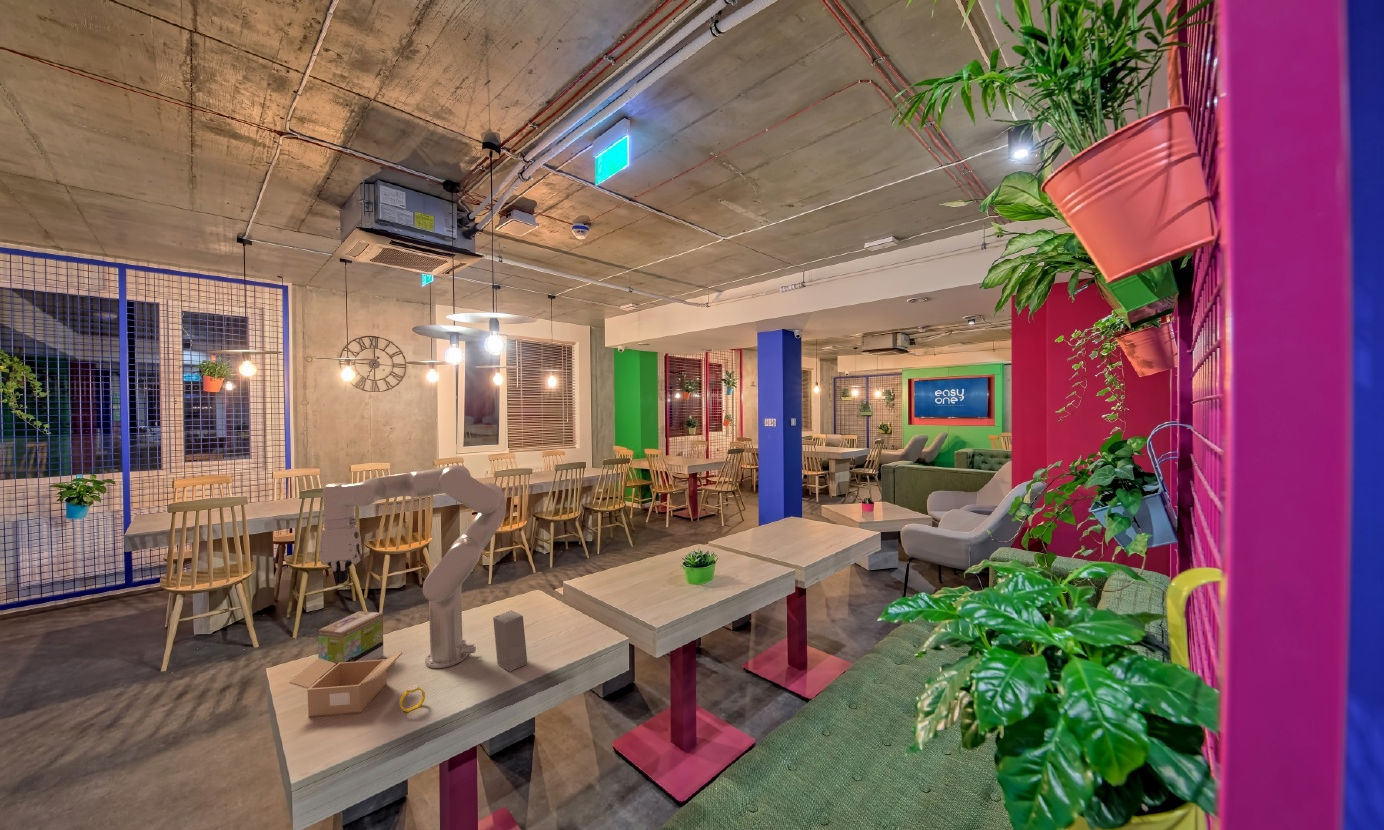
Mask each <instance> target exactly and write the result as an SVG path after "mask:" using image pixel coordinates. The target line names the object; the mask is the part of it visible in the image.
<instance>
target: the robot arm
mask: <svg viewBox="0 0 1384 830" xmlns="http://www.w3.org/2000/svg"><path fill="white" fill-rule="evenodd" d="M444 494H445V495H447V496H448V497H450V498H451V499H454V500H455V501H457V502H458V503H460V504H462V505H464V506H465V507H467V508H468V509H470V510H472V511H474V512H476V515H475V517H474V518H473V519H472V521H471V522H470V523H469V525H468V526H467V528H465V530H464V531H463V532H462V534H460V535H459V537H458V538H456V540H455V541H454V542H453V543H452V544H451V546H450V548H449V549H448V550H447V552H446V553H445V554H444V556H443V557H442V559H441V560H440V561H439V562H438V563H436V564H435V565H434V566H433V567H432V568H431V570H430V571H429V572H428V575H427V577H425V579H424V581H423V584H422V594H423V596H424V598H425V599H426V600H428V612H429V613H428V616H429V617H428V618H429V619H428V620H429V645H430V647H429V648H430V649H429V650H430V653H429V654H428V655H427V656H426V658H425V660H424V661H425V662H424V663H425V665H426V666H427V667H428V668H432V669H441V668H449V667H452V666H455V665H457V664H459V663H461V662H463V661H464V660H465V659H467V657H468V656H469V654H475V653H476V650H477V647H476V646H475V644H474V643H469V644H467V641H466V639H463V616H462V615H463V614H462V610H463V608H462V605H463V604H462V585H463V583H464V582H465V581H466V579H467V578H468V577H469V576H470V575H471V573H473V570H474V569H475V568H476V566H477V564H478V562H479V560H480V559H481V558H480V557H481V555H482V553H483V551H484V549H485V548H486V547H487V545H488V544H489V542H491V540H492V538H493V537H494V536H495V534H496V533H497V532H498V530H499V528H500V527H501V525H502V523H503V521H504V519H505V516H506V514H507V513H506V512H507V501H506V496H505V493H504V492H503V490H502V488H501V487H500V486H499V485H497V484H496V483H492V482H487V483H483V482H481V481H479V480H477V479H476V478H474V477H473V476H471V472H470V470H469V469H468V468H467V467H465V466H463V465H459V464H458V465H456V464H454V465H450V466H444V467H443V466H442V467H437V468H436V467H435V468H430V469H424V470H423V469H422V470H416V471H409V472H407V473H399V474H392V475H391V474H390V475H385V476H384V475H383V476H377V477H371V478H368V479H365V480H363V481H361V482H357V483H353V484H352V483H350V482H334V483H328V484H326V485H325V486H323V488H322V500H323V501H322V502H323V504H322V505H323V529H322V530H321V533H320V540H319V559H320V564H321V565H323V566H328V567H329V568H331V570H332V572H334V581H335V584H336V585H339V584H340V585H342V584H344V583H346V582H348V579H349V568H350V566H352V565H353V564H357V563H359V562H360V561H361V557H360V556H361V555H362V554H363V549H362V547H363V546H362V540H361V539H362V538H361V534H360V529H359V527H358V525H355V524H358V523H359V519H358V518H355V512H354V509H355V507H359V508H362V507H365V508H366V507H369V506H371V505H373V504H374V503H376V502H377V501H382V500H389V499H392V498H398V497H410V498H416V499H417V498H419V499H420V498H425V497H431V496H436V495H444Z"/></svg>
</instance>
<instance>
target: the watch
mask: <svg viewBox="0 0 1384 830" xmlns="http://www.w3.org/2000/svg"><path fill="white" fill-rule="evenodd" d="M417 691H421V698H420V700H419V702H418V703H417V704H416V705H413V706H410V707H408V708H405V707H404V706H403V701H404V699H405V698H406V696H407V695H408V694H409V693H410V694H411V693H415V692H417ZM425 699H426V692H425V691H424V689H423V688H421V687H420V686H418V684H412V685H409V686H408V687H406V690H405V691H404V692H403V693H402V695H401V696H400V698H399V707H400V708H401V709H402V711H404V712H406V713H409V712H412V711H413V710H416V709H419V708H420V707H421V706H422V705H423V704H424V702H425Z"/></svg>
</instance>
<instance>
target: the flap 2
mask: <svg viewBox="0 0 1384 830" xmlns="http://www.w3.org/2000/svg"><path fill="white" fill-rule="evenodd" d="M401 655H403V652H400V653H397V654H395V655H393V656H391V657H389V658H386V660H385V661H384V662H383V663H382V664H381V665H380V666H379V667H378V668H377V669H376V670H375V671H374V672H373V673H372V674H371V675H370V676H369V677H368V678H367V679H366V680H365V681H364V682H363V683H362V684H365V683H367V682H369V681H371V680H373V679H376V678H378V677H380V676H381V675H382V674H383V673H384V672H385V671H386V672H387V670H388V669H390V668H391V666H392V665H393V664H394V663H395V662H396V661H397V660H398V659H399V658H400V656H401Z"/></svg>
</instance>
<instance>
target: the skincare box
mask: <svg viewBox="0 0 1384 830" xmlns="http://www.w3.org/2000/svg"><path fill="white" fill-rule="evenodd" d="M492 621H493V630H494V631H493V632H494V641H495V650H496V651H495V652H496V664H497V665H499V666H500V667H501V668H503V669H504V670H506V671H508V672H512V671H514V670H517V669H518V668H520V667H523V666H527V665H528V656H527V655H528V654H527V643H526V636H525V635H526V633H525V625H524V624H525V623H524V615H521V614H520V613H518V612H516V611H513V610H509V611H506V612H503V613H500V614H497V615H495V616H493V617H492Z"/></svg>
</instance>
